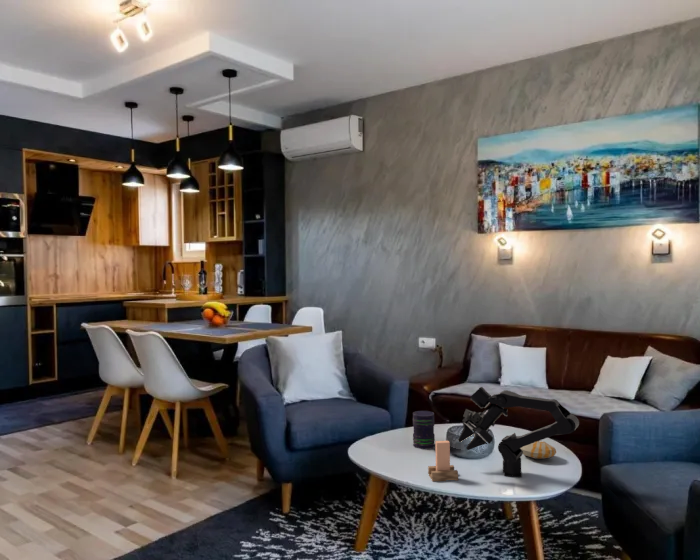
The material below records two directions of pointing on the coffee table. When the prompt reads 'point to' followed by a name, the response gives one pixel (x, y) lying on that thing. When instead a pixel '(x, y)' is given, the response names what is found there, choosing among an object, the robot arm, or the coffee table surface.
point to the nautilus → (539, 450)
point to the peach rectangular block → (442, 455)
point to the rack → (442, 474)
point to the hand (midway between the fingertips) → (462, 445)
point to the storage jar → (423, 429)
